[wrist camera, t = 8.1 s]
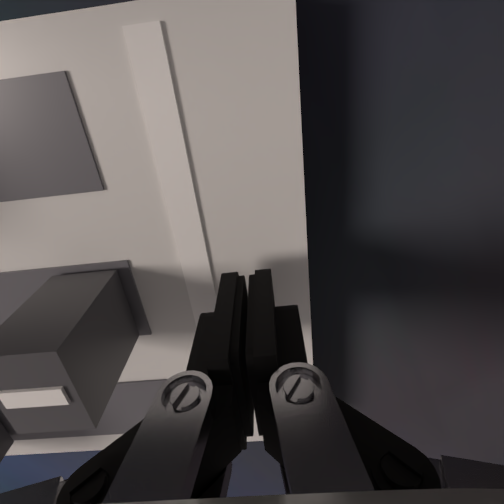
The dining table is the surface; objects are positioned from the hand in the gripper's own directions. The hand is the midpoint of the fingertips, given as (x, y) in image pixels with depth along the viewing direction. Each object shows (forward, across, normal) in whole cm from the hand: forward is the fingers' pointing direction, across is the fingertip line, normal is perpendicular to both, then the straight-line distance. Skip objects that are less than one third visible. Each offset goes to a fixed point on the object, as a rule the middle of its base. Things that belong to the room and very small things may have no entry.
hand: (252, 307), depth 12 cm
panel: (+3, +10, 0) cm, 10 cm away
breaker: (+1, +6, 0) cm, 6 cm away
